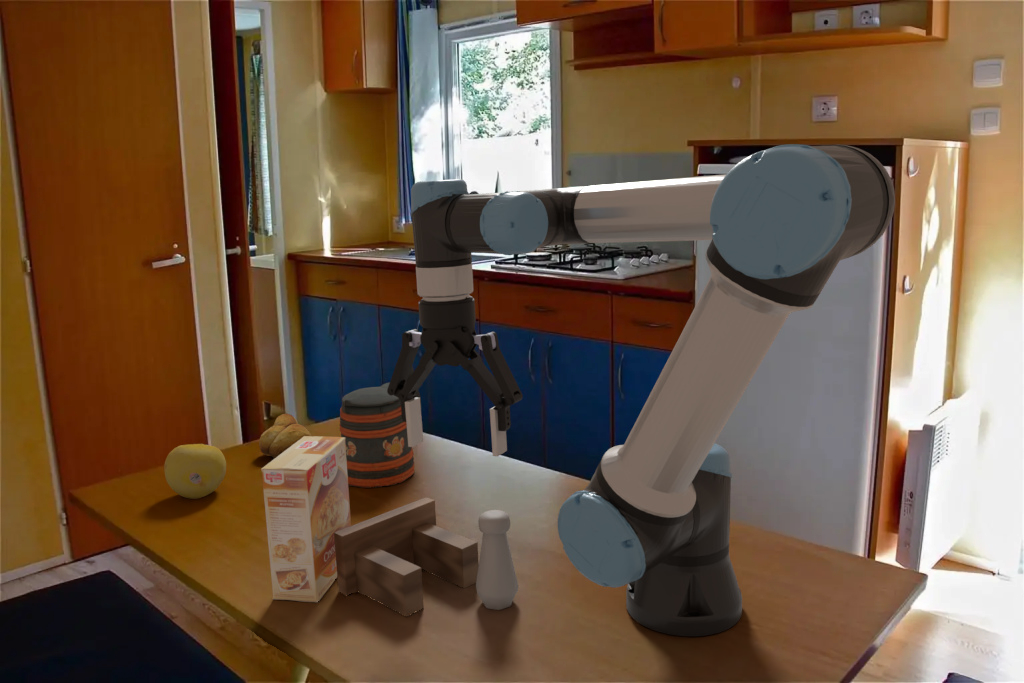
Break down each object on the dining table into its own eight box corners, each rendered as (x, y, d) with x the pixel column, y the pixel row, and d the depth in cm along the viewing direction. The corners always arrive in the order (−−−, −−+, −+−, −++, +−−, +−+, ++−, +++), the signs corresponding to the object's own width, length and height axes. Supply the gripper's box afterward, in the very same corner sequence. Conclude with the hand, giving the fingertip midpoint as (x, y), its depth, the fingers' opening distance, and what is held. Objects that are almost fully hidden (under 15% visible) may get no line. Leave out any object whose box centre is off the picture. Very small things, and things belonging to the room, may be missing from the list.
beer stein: (393, 452, 186) (387, 359, 182) (445, 464, 177) (440, 367, 173) (323, 479, 171) (315, 378, 167) (376, 494, 162) (369, 389, 158)
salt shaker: (498, 588, 125) (495, 501, 123) (527, 601, 121) (524, 512, 118) (467, 603, 121) (463, 514, 119) (496, 617, 117) (492, 525, 115)
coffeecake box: (318, 603, 123) (307, 469, 119) (270, 600, 124) (258, 468, 120) (356, 556, 137) (347, 435, 133) (312, 554, 138) (302, 434, 134)
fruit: (235, 495, 164) (230, 444, 162) (175, 509, 158) (169, 456, 156) (219, 480, 173) (214, 431, 171) (161, 493, 167) (155, 442, 165)
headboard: (487, 576, 129) (485, 518, 127) (396, 622, 117) (392, 558, 115) (429, 551, 138) (426, 497, 136) (338, 591, 126) (333, 532, 124)
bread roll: (326, 456, 185) (323, 419, 183) (285, 469, 178) (282, 431, 176) (291, 444, 194) (288, 409, 192) (252, 456, 187) (248, 419, 185)
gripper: (542, 293, 116) (549, 449, 120) (386, 291, 128) (398, 433, 132) (515, 302, 110) (524, 466, 113) (354, 299, 121) (367, 448, 125)
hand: (456, 448), depth 122 cm, fingers open, 13 cm apart
